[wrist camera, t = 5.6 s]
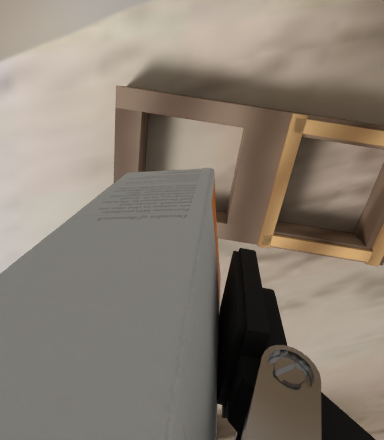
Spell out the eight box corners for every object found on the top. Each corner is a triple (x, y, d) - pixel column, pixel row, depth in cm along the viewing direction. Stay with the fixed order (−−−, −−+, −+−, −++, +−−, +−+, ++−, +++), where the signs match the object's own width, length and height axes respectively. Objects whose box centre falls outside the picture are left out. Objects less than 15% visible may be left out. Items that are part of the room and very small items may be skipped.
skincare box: (223, 276, 15) (214, 744, 4) (144, 277, 16) (-38, 691, 5) (216, 162, 13) (161, 566, 2) (124, 167, 13) (-325, 503, 2)
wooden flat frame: (424, 132, 23) (449, 137, 20) (368, 250, 27) (384, 267, 25) (126, 86, 23) (114, 85, 21) (121, 210, 28) (111, 222, 25)
